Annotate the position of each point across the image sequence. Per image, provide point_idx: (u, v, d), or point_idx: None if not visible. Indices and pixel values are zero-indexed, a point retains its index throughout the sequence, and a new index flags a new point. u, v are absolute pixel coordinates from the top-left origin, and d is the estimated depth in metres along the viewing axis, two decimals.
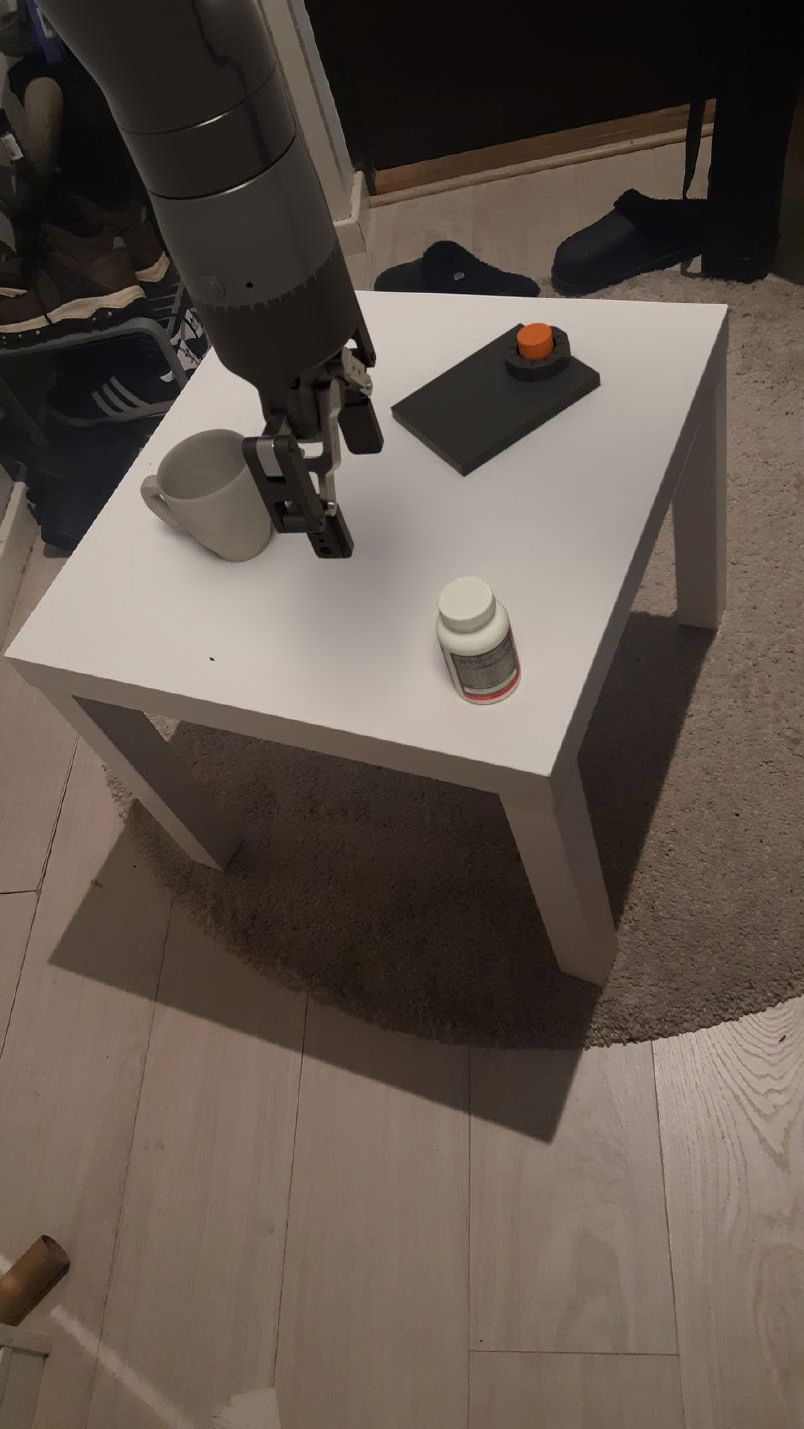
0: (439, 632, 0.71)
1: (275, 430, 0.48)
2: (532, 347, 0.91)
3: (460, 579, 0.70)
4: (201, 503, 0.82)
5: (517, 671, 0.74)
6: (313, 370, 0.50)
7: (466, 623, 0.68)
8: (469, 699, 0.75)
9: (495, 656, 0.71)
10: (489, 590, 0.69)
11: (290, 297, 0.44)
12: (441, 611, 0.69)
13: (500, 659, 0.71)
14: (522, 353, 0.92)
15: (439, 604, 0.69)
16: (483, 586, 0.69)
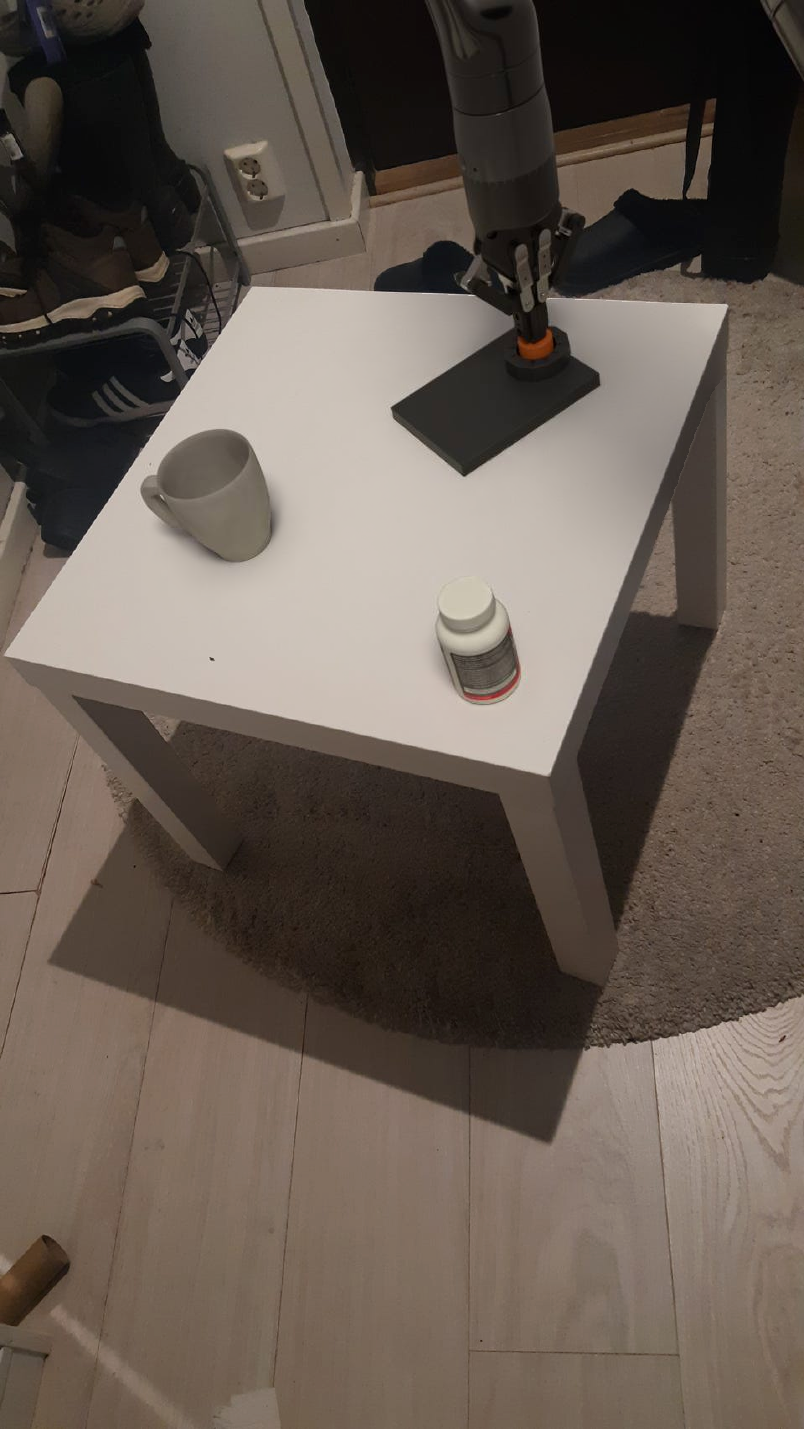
0: (439, 632, 0.71)
1: (472, 273, 0.83)
2: (533, 350, 0.91)
3: (460, 579, 0.70)
4: (201, 503, 0.82)
5: (517, 671, 0.74)
6: (514, 233, 0.82)
7: (466, 623, 0.68)
8: (469, 699, 0.75)
9: (495, 655, 0.71)
10: (489, 590, 0.69)
11: (494, 186, 0.77)
12: (441, 611, 0.69)
13: (500, 659, 0.71)
14: (523, 357, 0.92)
15: (439, 604, 0.69)
16: (483, 586, 0.69)
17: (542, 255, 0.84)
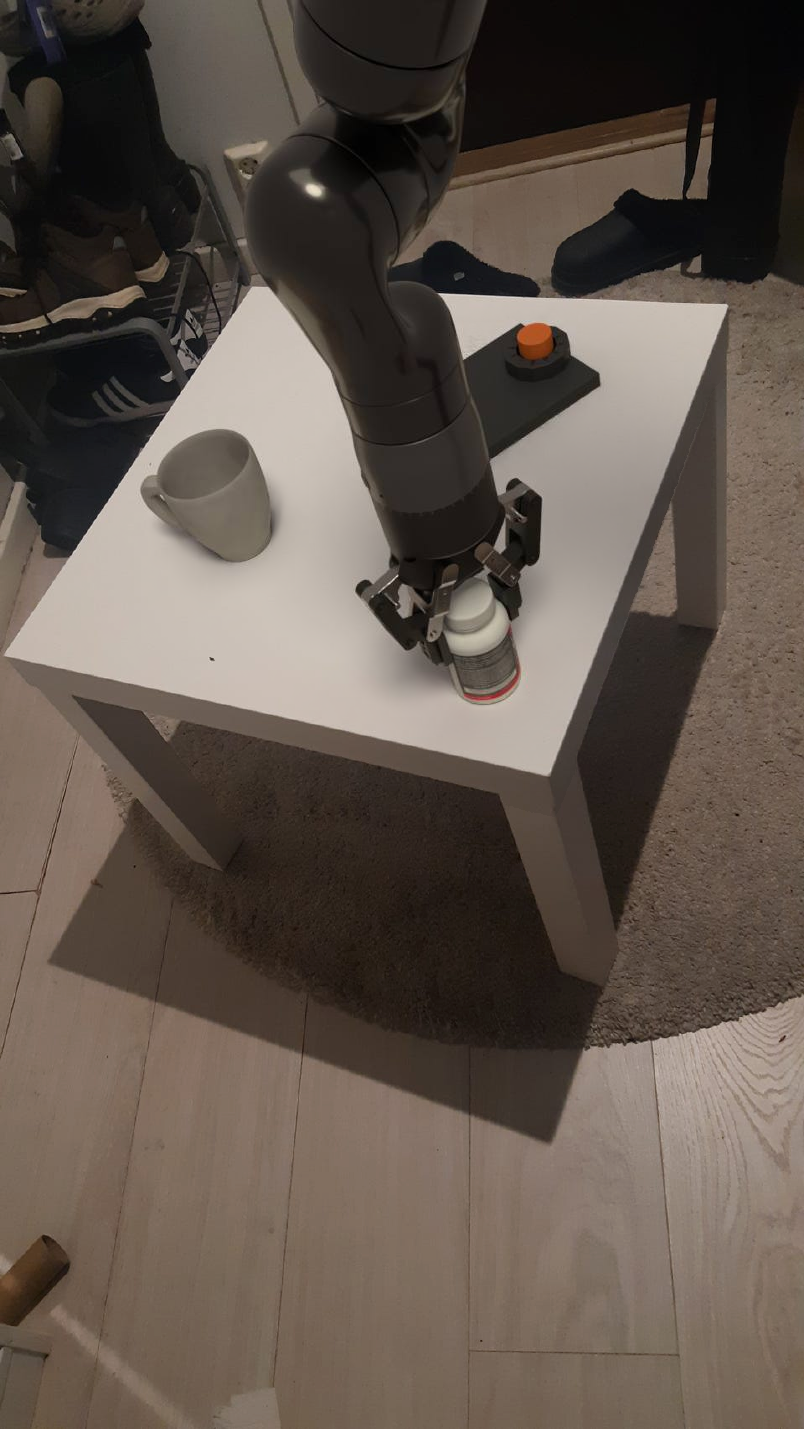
0: None
1: (380, 587, 0.63)
2: (532, 347, 0.91)
3: None
4: (201, 503, 0.82)
5: (517, 671, 0.74)
6: None
7: (466, 623, 0.68)
8: (469, 699, 0.75)
9: (495, 656, 0.71)
10: (489, 591, 0.69)
11: (408, 516, 0.57)
12: None
13: (500, 659, 0.71)
14: (522, 353, 0.92)
15: None
16: (483, 586, 0.69)
17: (489, 560, 0.65)
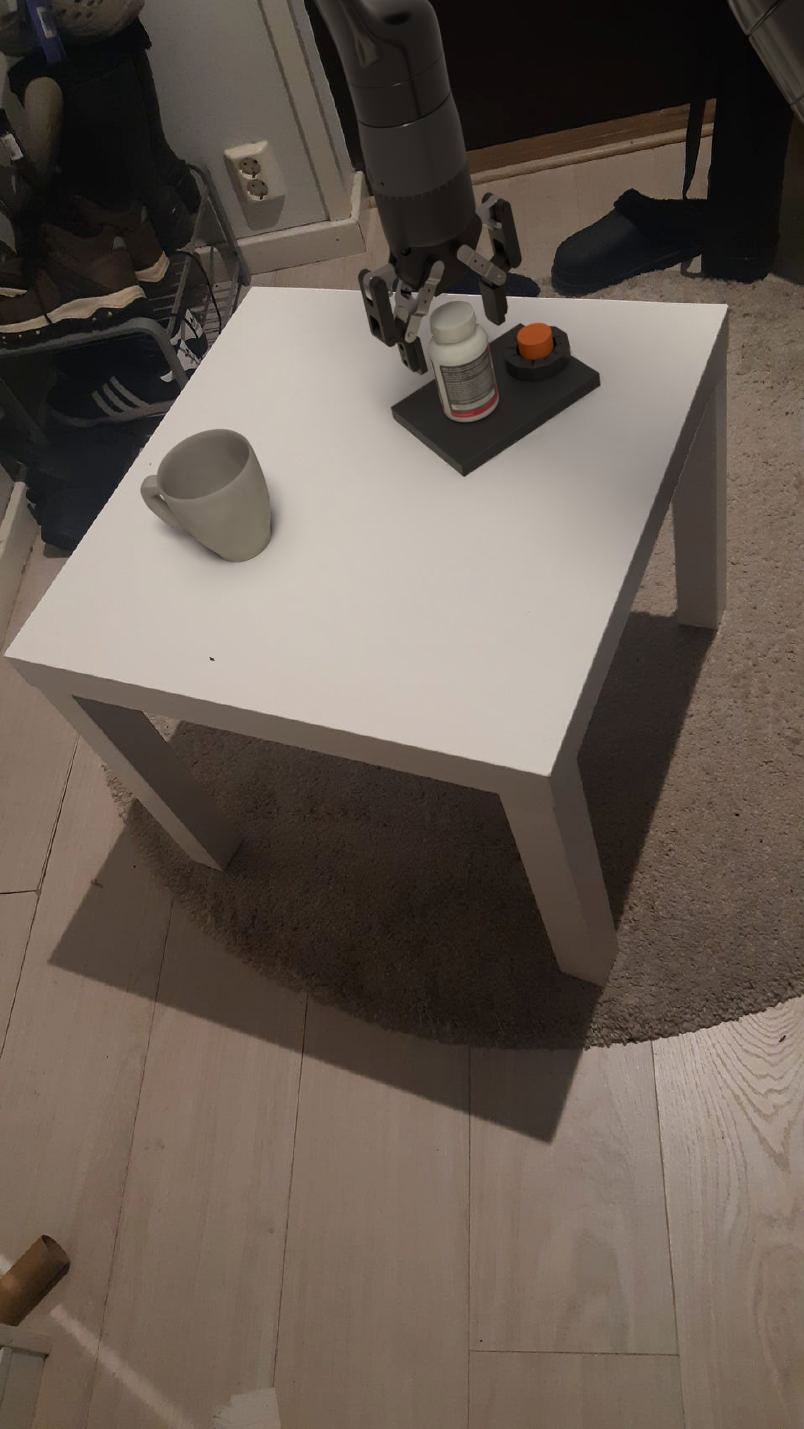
0: (430, 349, 0.87)
1: (380, 273, 0.78)
2: (532, 347, 0.91)
3: (447, 303, 0.86)
4: (201, 503, 0.82)
5: (495, 393, 0.90)
6: (430, 249, 0.78)
7: (452, 332, 0.84)
8: (456, 418, 0.91)
9: (477, 368, 0.87)
10: (471, 308, 0.84)
11: (403, 201, 0.73)
12: (432, 325, 0.85)
13: (480, 372, 0.87)
14: (522, 353, 0.92)
15: (430, 321, 0.85)
16: (466, 306, 0.85)
17: (473, 262, 0.81)
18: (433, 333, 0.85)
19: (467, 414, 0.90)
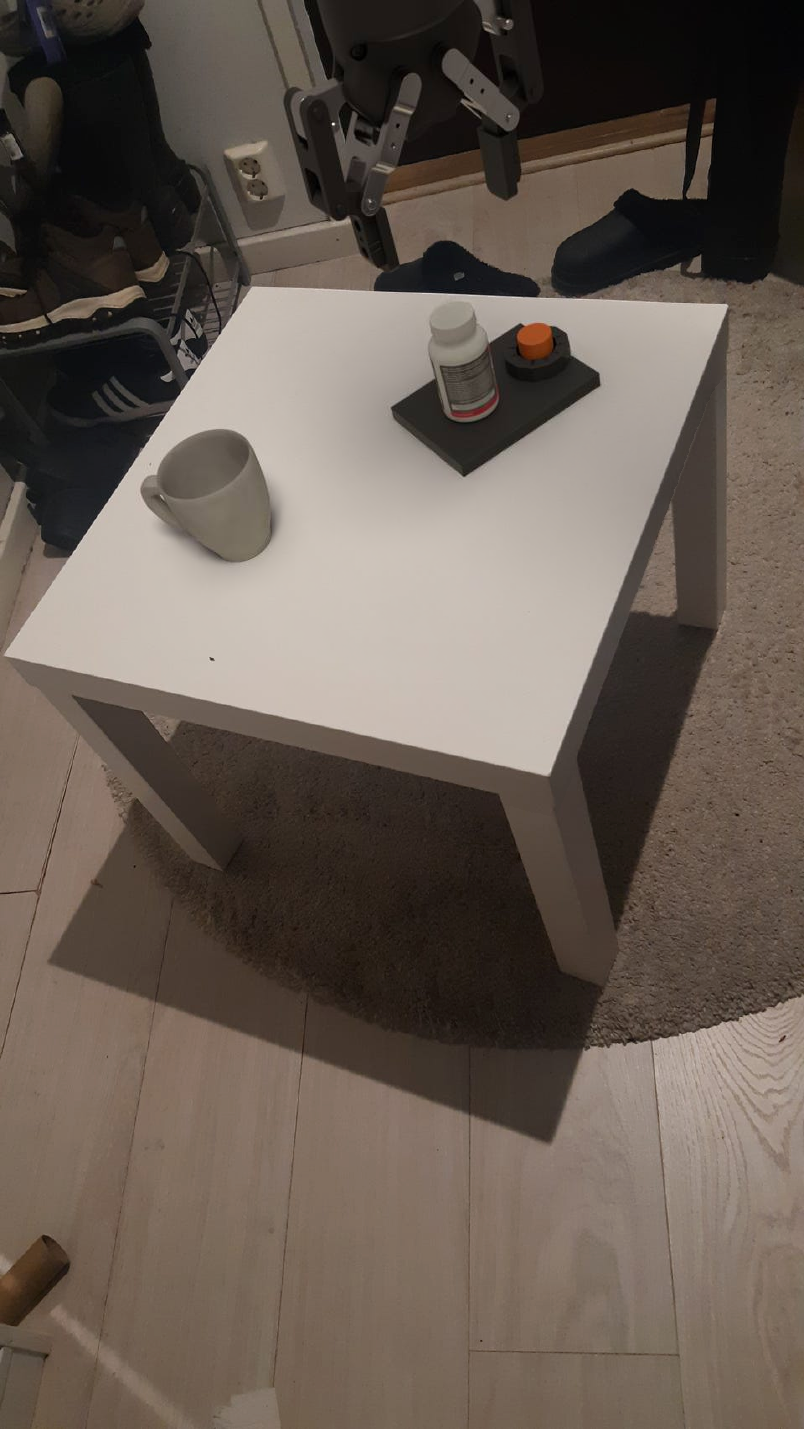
0: (431, 349, 0.87)
1: (318, 91, 0.48)
2: (532, 347, 0.91)
3: (448, 303, 0.86)
4: (201, 503, 0.82)
5: (495, 393, 0.90)
6: (399, 55, 0.49)
7: (452, 332, 0.84)
8: (456, 418, 0.91)
9: (477, 368, 0.87)
10: (471, 308, 0.84)
11: None
12: (432, 325, 0.85)
13: (480, 372, 0.87)
14: (522, 353, 0.92)
15: (430, 321, 0.85)
16: (466, 306, 0.85)
17: (468, 83, 0.51)
18: (433, 333, 0.85)
19: (467, 414, 0.90)
